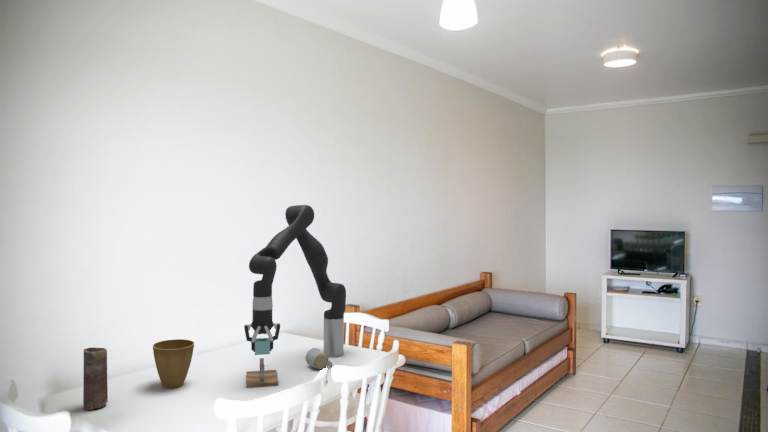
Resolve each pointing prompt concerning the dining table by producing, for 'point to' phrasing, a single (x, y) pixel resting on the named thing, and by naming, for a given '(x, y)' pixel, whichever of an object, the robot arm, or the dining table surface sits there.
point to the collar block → (262, 346)
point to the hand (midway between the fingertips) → (262, 350)
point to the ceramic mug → (317, 359)
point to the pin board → (256, 378)
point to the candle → (95, 378)
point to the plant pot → (173, 361)
